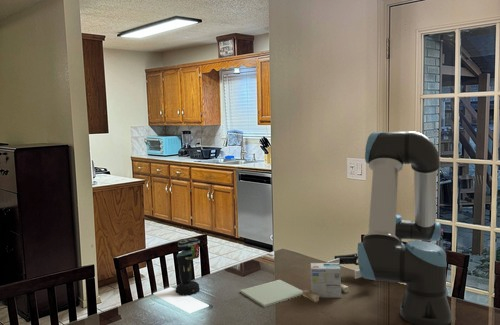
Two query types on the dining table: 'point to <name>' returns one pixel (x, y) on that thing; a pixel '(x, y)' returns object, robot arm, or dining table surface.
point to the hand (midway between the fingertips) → (340, 269)
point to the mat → (272, 292)
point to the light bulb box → (326, 279)
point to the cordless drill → (187, 266)
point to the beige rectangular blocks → (316, 297)
